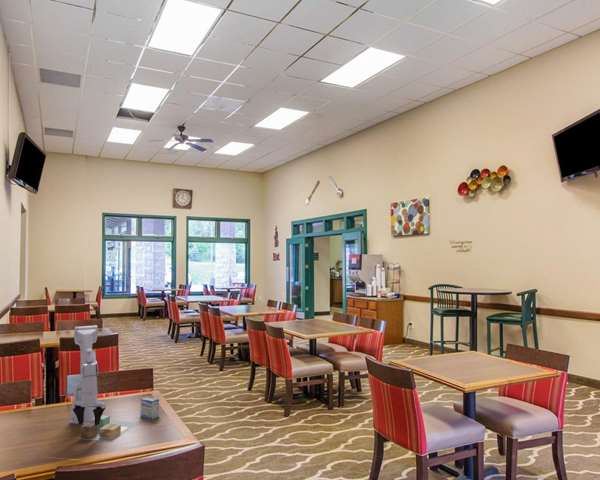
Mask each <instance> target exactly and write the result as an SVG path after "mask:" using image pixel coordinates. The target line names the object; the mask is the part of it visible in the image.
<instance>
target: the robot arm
mask: <svg viewBox="0 0 600 480" xmlns="http://www.w3.org/2000/svg"><path fill="white" fill-rule="evenodd" d="M73 335H74V336H73V337H74V343H75V345H78V346H79V349H80V381H78V382H77V383H76V384H75V385H74V388H73V401H72V404H71V407H70V421H69V423H70V424H78V425H84V424H86V423H88V422H90V423H93V422H94V419H95V426H97V425H99V423H100V419H101V416H102V415H103V413H104V411H105V409H106V407H107V402H104V401H100V400H98V378H97V377H98V375H99V365H98V361H97V358H96V357H97V356H96V355H97V354H96V351H95V350H93V344H94V343H97V340H98V336H99V328H98V325H96V324H95V325H85V326H84V325H83V326H75V327H74V334H73Z"/></svg>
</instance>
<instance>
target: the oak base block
mask: <svg viewBox="0 0 600 480" xmlns="http://www.w3.org/2000/svg"><path fill="white" fill-rule="evenodd" d="M120 433H121V425H119V424H107V425H105V426H104V427H102V428H100V437H102V438H114V437H115V436H117V435H118V434H120Z"/></svg>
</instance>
